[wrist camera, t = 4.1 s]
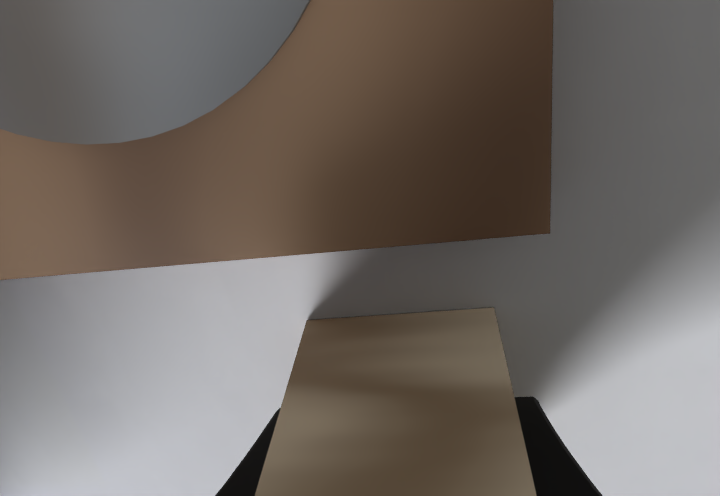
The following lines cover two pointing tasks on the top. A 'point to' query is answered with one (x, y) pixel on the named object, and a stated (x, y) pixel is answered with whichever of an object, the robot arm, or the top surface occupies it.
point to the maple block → (399, 411)
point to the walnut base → (267, 128)
